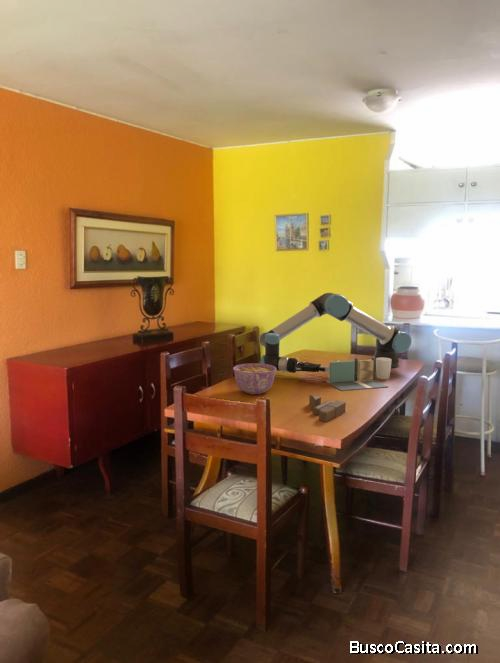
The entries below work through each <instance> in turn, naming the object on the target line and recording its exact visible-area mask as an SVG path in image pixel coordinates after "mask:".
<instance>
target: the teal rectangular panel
mask: <svg viewBox="0 0 500 663" xmlns="http://www.w3.org/2000/svg"><path fill="white" fill-rule="evenodd" d="M329 367H330V373H329V379H328V380H329V382H344V381H354V375H355V360H342V361H330V362H329Z"/></svg>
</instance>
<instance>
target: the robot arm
mask: <svg viewBox="0 0 500 663" xmlns="http://www.w3.org/2000/svg"><path fill="white" fill-rule="evenodd" d="M353 304H354V303H353V302H352V301H350V300H349V299H347V298H346V297H345V296H344V295H342V294H339V293H333V292H325V293H323V294H322V295H320V296H318V297H317V298H314V299H313V300H312V301H311V302H309V305H308V306H306V307H304V308H303V309H301V310H300V311H299V312H297V313H295V314H293V315H292V316H290V317H289V318H288V319H286V320H284V321H283V322H281V323H280V324H278V325H277V326H275V327H273V328H272V329H270V330H269V331H266V332H262V333H261V334H260V335H259V337H258V341H259V343H260V345H261V346H262V347H264V350H265V351H264V354H263V355H262V356H261V357H260V360H259V364H268V365H272V366H274V367H276V372H282V373H287V372H288V373H293V374H296V372H309V373H310V372H311V373H317V372H319V371H321V373H322V372H323V373H329V374H330V366H327V365H325V366H324V365H322V364H321V363H312V362H308V361H306V362H304V361H299V360H298V359H297V358H293V357H286V356H280V341H281V340H282V339H284V338H285V337H287V336H289V335H290V334H292V333H294V332H295V331H297V330H298V329H300V328H302V327H303V326H304V325H306V324H308V323H309V322H311V321H313V320H314V319H315V318H321V317H322V316H324V315H329V316H331V317H333V318H335V319H337V320H338V321H340V322H345V321H346V322H347V323H349V324H351V325H352V326H354V327H357V329H360V330H361V331H363V332H366V333H367V334H369V335H370V336H372V337H374V338H375V352H374V354H373V357H375V367H376V358H380V357H384V358H390V359H392V361H391V368H397V367H400V360H399V356H398V354H399V353H400V354H401V353H406V352H407V351H408V350H409V349H410V348H411V345H412V337H411V335H410V334H409V333H408V332H406V331H402V330H401V329H399V328H398V326H397V325H392V324H391V325H390V324H389V325H387V324H385V323H383V322H381V321H379V320H377V319H376V318H374V317H373V316H371V315H369V314H367V313H366V312H364V311H362V310H361V309H358V308H357V307H355V306H354V305H353ZM297 362H299V363H298V364H297Z"/></svg>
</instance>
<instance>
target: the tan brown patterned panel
mask: <svg viewBox="0 0 500 663" xmlns="http://www.w3.org/2000/svg"><path fill="white" fill-rule="evenodd" d="M354 361H355V375H354V381H357V378H358V380H375V374H376V366H375V357H374V356H372V357H371V359H359V357H358V358H357V357H356V358H354Z"/></svg>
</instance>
